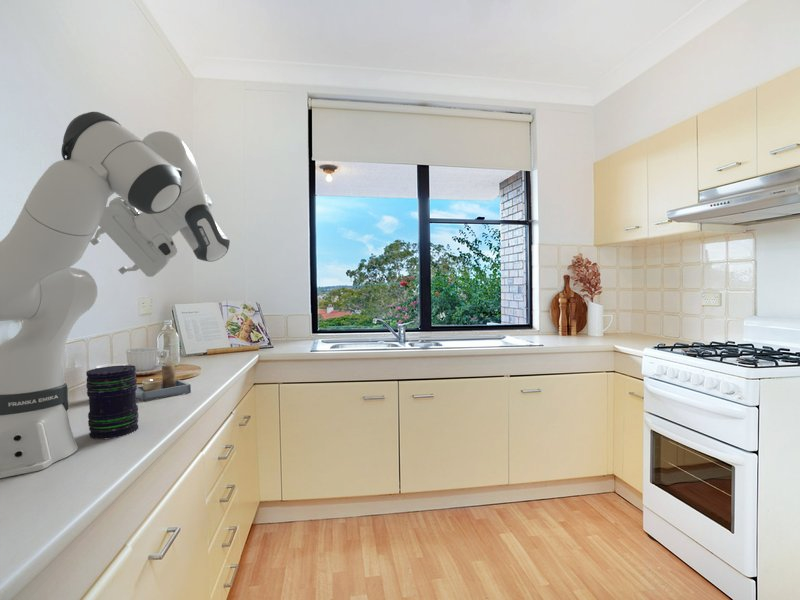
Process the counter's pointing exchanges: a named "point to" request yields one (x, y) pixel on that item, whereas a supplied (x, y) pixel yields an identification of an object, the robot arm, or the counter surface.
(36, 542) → the counter surface
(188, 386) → the tray
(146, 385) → the oak block
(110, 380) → the dark blue cylinder
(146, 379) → the silver dome cap
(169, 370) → the brown wooden peg
